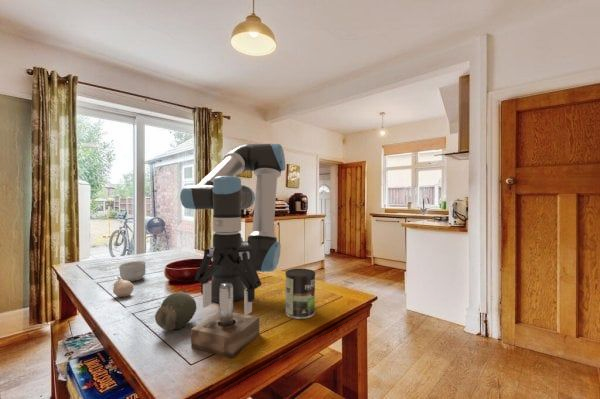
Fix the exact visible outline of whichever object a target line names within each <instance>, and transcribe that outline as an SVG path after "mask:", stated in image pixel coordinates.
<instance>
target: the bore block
mask: <svg viewBox="0 0 600 399" xmlns="http://www.w3.org/2000/svg"><path fill="white" fill-rule="evenodd" d="M190 330H191V331H190V339H191V342H190V348H191V349H193V350H199V351H203V352H206V353H210V354H214V355H218V356H222V357H225V358H230V359H234V358H235V357H237V355H238V354H239V353H240V352H242V351H243V350H244V349H245V348H247V346H248V345H249V344H250V343H252V342H253V341H254V340H255V339H256V338H257V337H258V336H259V335H260V317H259V316H254V315H250V314H248V315H244V313H239V312H234V311H233V325H232V326H228V327H221V326H220V311H218V312H217V313H216V314H214V315H212V316H210V317H208V318H207V319H205V320H203V321H202V322H201V323H198V324H197V325H195V326H193V327H192V328H190Z"/></svg>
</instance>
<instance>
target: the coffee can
mask: <svg viewBox="0 0 600 399" xmlns="http://www.w3.org/2000/svg"><path fill="white" fill-rule="evenodd" d="M315 304H316V272H315V270H312V269H309V268H293V269H291V268H290V269H287V270H286V271H285V315H286V316H287V317H288V318H291V319H295V320H306V319H310V318H312V317H314V316H315V315H316V314H315V313H316V311H315V310H316V308H315V306H316V305H315Z"/></svg>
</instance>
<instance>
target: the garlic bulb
mask: <svg viewBox="0 0 600 399" xmlns="http://www.w3.org/2000/svg"><path fill="white" fill-rule="evenodd" d="M116 278H117V279H118V280H116V281H115V282H114V283H113V287H112V288H113V289H112V292H113V294H114V295H115V296H116V297H121V298H123V297H124V298H125V297H129V296H130V295H131V294H132V293H133V291H134V288H135V286H134V285H133V283H132V281H131V282H129V281H128V280H123V279H121V277H120V276H118V275H117V277H116Z"/></svg>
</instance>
